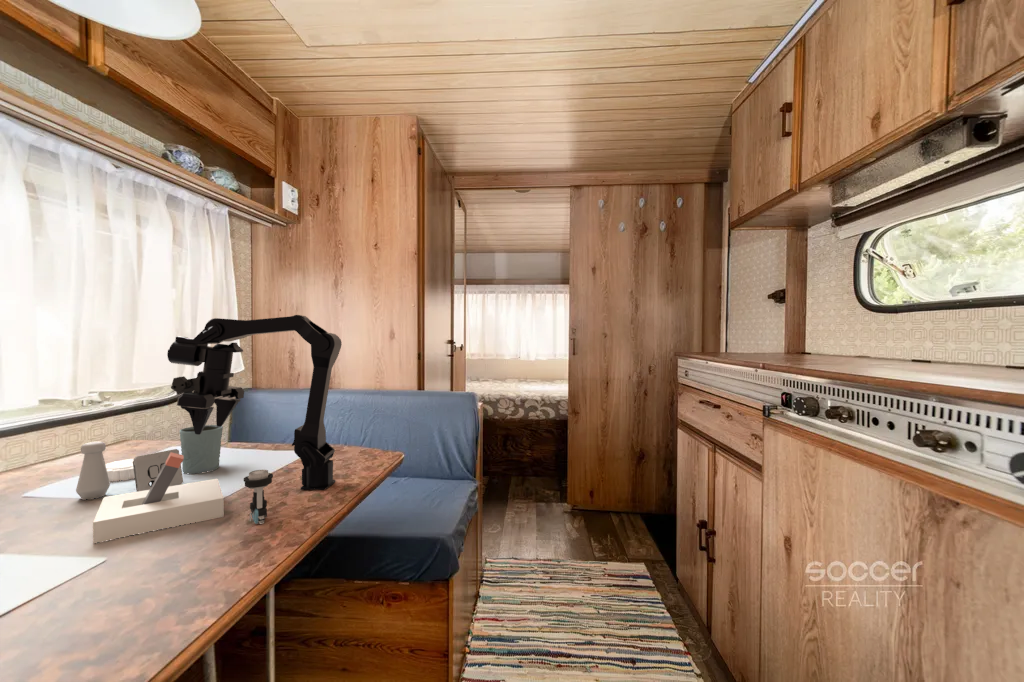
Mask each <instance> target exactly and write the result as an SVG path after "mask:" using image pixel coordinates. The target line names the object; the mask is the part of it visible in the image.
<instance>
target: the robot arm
mask: <svg viewBox="0 0 1024 682" xmlns="http://www.w3.org/2000/svg"><path fill="white" fill-rule="evenodd" d="M285 332H286V333H287V332H296V333H297V334H298V335H299V336H300V337H301V338H302V339H303V340H304V341H305V342H306V343H308V344H309V345H310V356H311V362H312V366H313V369H312V375H311V381H310V386H309V387H310V388H309V393H308V394H309V395H308V400H307V405H306V406H307V407H306V413H305V417H304V418H305V419H304V423H303V424H302V425H300V426H299V427H297V428H295V429H294V433H293V435H294V438H293V442H292V443H291V447H292V446H293V451H294V453H295V455H296V456H297V457H298V458H299V459H300V462H301V464H302V467H303V468H302V469H301V485H302V486H300V490H309V491H310V490H313V491H314V490H316V491H317V490H318V491H319V490H320V491H321V490H327V489H329V488H330V487H331V486H333V484H334V483H336V481H337V480H336V479H334V460H333V459H331V458H333V457H334V454H335V451H336V449H335V448H334V447H332V446H331V445H330V444H329V443H328V442H327V434H326V433H327V432H326V431H327V429H326V427H325V426H326V425H325V422H324V420H325V414H326V408H327V407H326V406H327V402H328V401H327V400H328V396H329V395H328V394H329V389H330V383H331V377H332V372H333V371H332V369H333V367H334V365H335V364H336V361H337V359H338V356H339V354H340V351H341V349H342V342H343V341H342V340H341V338H340V336H338V335H337V334H336V333H332V332H328V331H327V330H326V329H324V328H322V327H321V326H320V325H318V324H316V323H314V322H313V320H311V319H310V318H309V317H307V316H306V315H302V314H295V315H292V316H281V317H279V316H278V317H270V318H269V317H268V318H259V319H248V320H245V319H233V318H232V319H231V318H217V317H215V318H211V319H209V320H208V321H207V322H206V323H205V325H204V329H202V330H201V331H200V332H199V333H198V334H197V335H196V336H195V337H194V338H191V337H190V338H189V337H186V336H175V340H174V342H172V343H171V345H170V346H169V349H167V354H166V355H167V360H168V361H169V363H170V364H175V365H184V366H185V365H186V366H191V367H192V366H194V367H198V366H201V365H202V364H203V369H202V371H198V372H197V374H196V377H194V378H188V379H187V377H186V376H177V377H173V380H172V383H171V386H170V389H171V390H172V391H175V392H176V395H177V396H178V397H177V402H176V406H178V407H180V409H183V410H185V411H186V412H187V413H188V415H189V416H190V419H191V424H192V427H193V428H194V432H195V434H198V435H200V434H201V433H202V431H203V429H204V427H205V425H207V423H208V420H209V418H210V417H211V415H212V412H213V410H214V409H215V408H214V406H213V405H214V404H215V405H216V417H215V419H216V421H215V422H216V424H215V425H217V427H221V426H223V425H224V424H225V422H226V421H227V419H228V418H229V417H230V416H231V413H232V412H233V410H234V409H235V408H236V406H238V404H239V403H240V402H241V400H242V399H243V398H244V396H245V390H244V389H243V388H242V387H241V386H231V385H230V379H231V378H234V374H235V373H234V372H232V363H233V357H234V356H233V355H234V353H243V352H244V350H243V348H242V347H240V346H239V345H238V342H234V341H237V340H241V339H244V338H247V337H250V336H254V335H262V334H263V335H265V334H274V333H285ZM223 342H225V343H226V342H230V343H229V344H224V343H223ZM209 345H214V346H209Z"/></svg>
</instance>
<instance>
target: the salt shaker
mask: <svg viewBox="0 0 1024 682" xmlns="http://www.w3.org/2000/svg"><path fill="white" fill-rule="evenodd" d="M106 447H107V446H106V442H104V441H98V440H97V441H90V442H86V443H83V444H82V445H81V446H80V454H82V455H83V458H82V464H81V468H80V473H79V475H78V476H79V478H78V481H77V485H76V489H75V491H76V492H75V493H76V494H77V495H78V497H80V499H81V500H82V501H87V500H86V499H92V500H95V499H94V498H96V499H99V498H98V497H100V498H103V497H105V495H106V493H107V492H108V490H109V488H110V485H111V481H109V477H108V473H107V469H106V462H105V457H104V452H105V450H106ZM102 496H103V497H102Z"/></svg>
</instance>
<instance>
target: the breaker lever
mask: <svg viewBox="0 0 1024 682" xmlns="http://www.w3.org/2000/svg"><path fill="white" fill-rule="evenodd" d="M183 459H184V458H183V455H182V454H181V453H179V454H176V453H172V452H171V453H170V454H169V456H168V458H167V460H166V462H165V463H164V465H163V467H162V469H161V471H160V472H159V474H158V476H157V478H156V480H155V481H154V483H153V485H152V487H151V489H150V490H149V492H148V494H147V496H146V498H145V499H144V501H143V503H142V505H144V504H149V503H155V502H160V501H161V500H162V498H163V496H164V494H165V492H166V490H167V489H168V487H169V485H170V483H171V481H172V479H173V478H174V476H175V474H176V472H177V470H178V468H179V467H180V465H181V466H182V461H183Z"/></svg>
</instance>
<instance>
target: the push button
mask: <svg viewBox="0 0 1024 682" xmlns="http://www.w3.org/2000/svg"><path fill="white" fill-rule="evenodd" d="M273 478H274V474H273V473H270V472H269V470H268V469H256V470H251V471H249V472H248V475H247V476H245V477H244V478H243V482H244V487H246V488H248V489H250V490H253V492H252V502H250V503H249V509H250V512H249V522H252V521H253V522H254V524H255V525H258V524H260V525H262V524H265V522H266V518H267V519H268V509H267V506H268V501H267V499H265V495H264V494H265V490H264V488H266V487H268V486H269V485H270V484H272V482H273Z"/></svg>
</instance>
